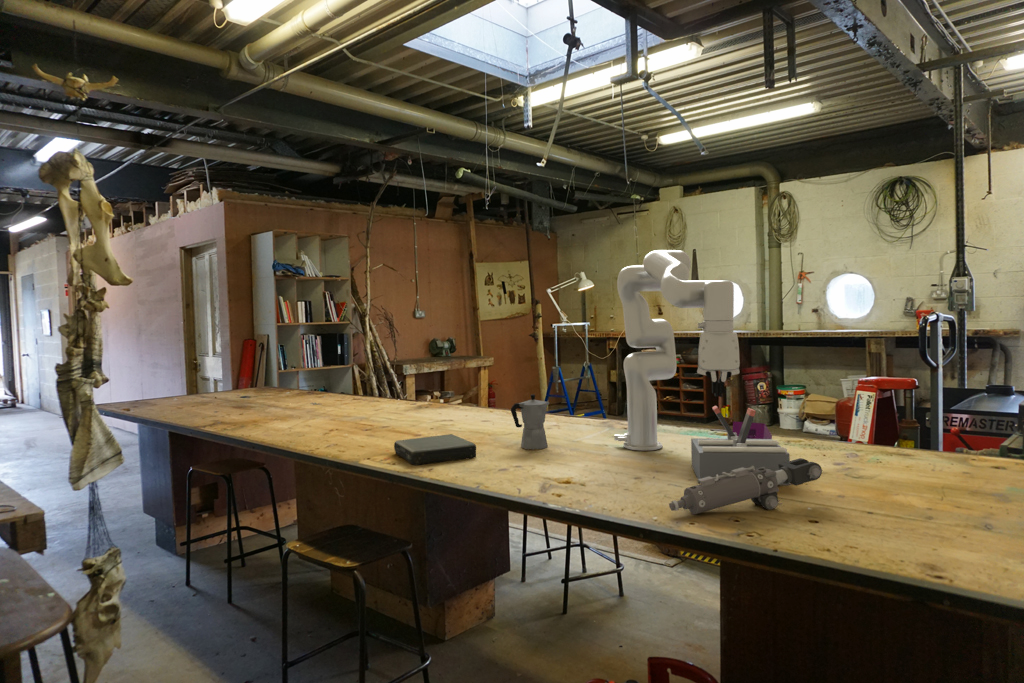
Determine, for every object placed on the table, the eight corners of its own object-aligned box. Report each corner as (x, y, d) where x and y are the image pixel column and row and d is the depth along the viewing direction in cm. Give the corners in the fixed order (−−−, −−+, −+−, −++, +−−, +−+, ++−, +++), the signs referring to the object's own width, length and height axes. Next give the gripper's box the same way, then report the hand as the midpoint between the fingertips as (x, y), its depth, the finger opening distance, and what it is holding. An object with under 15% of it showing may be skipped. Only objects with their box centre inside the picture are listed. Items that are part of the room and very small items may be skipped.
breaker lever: (738, 448, 164) (751, 409, 163) (735, 444, 168) (748, 407, 167) (742, 449, 164) (755, 411, 163) (739, 446, 168) (752, 408, 167)
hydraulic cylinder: (828, 495, 142) (821, 452, 141) (682, 537, 135) (674, 492, 134) (806, 486, 149) (800, 446, 149) (667, 526, 142) (659, 483, 141)
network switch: (483, 457, 201) (483, 442, 201) (417, 469, 188) (416, 452, 188) (448, 446, 220) (448, 432, 220) (386, 456, 207) (385, 441, 207)
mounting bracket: (742, 461, 210) (730, 447, 196) (744, 436, 213) (733, 421, 199) (772, 464, 205) (762, 450, 191) (774, 439, 208) (764, 423, 194)
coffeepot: (542, 442, 221) (541, 391, 220) (558, 446, 213) (556, 393, 212) (504, 448, 213) (503, 395, 212) (519, 452, 205) (518, 398, 204)
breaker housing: (699, 483, 163) (698, 414, 162) (691, 465, 181) (690, 404, 181) (789, 485, 159) (789, 414, 158) (771, 466, 178) (771, 403, 177)
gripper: (690, 328, 163) (690, 398, 164) (751, 327, 161) (750, 398, 162) (687, 326, 171) (687, 393, 172) (745, 326, 168) (744, 394, 169)
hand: (718, 396), depth 167 cm, fingers closed
